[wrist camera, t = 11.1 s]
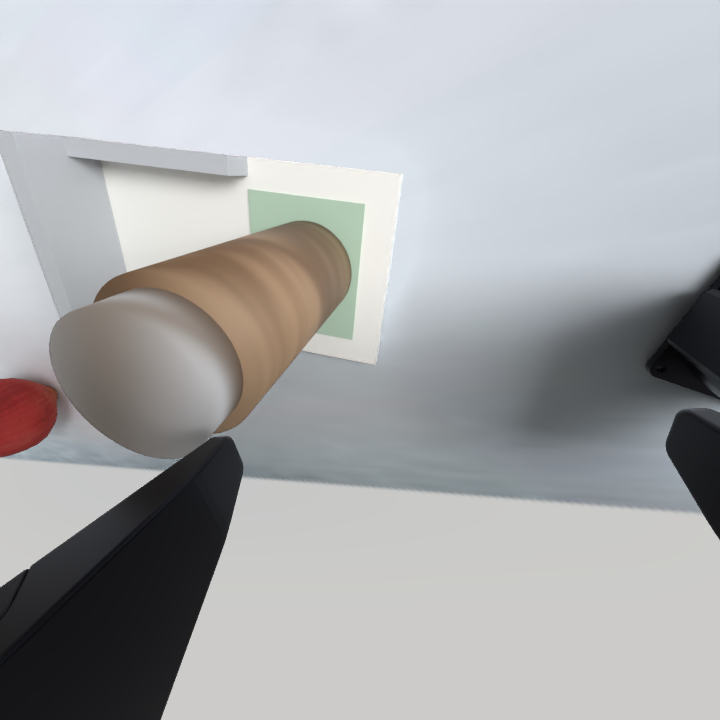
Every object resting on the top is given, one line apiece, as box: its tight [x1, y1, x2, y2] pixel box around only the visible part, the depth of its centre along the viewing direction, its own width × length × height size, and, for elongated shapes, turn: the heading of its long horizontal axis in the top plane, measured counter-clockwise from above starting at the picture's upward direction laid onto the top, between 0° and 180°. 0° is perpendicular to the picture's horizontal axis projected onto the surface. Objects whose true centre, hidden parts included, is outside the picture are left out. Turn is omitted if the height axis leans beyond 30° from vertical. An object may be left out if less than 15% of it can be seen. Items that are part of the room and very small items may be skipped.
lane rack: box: [0, 130, 404, 365], centre depth 18 cm, size 17×10×5 cm, turn 85°
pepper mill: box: [49, 220, 352, 459], centre depth 13 cm, size 5×5×12 cm
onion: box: [0, 378, 58, 457], centre depth 27 cm, size 6×6×8 cm
